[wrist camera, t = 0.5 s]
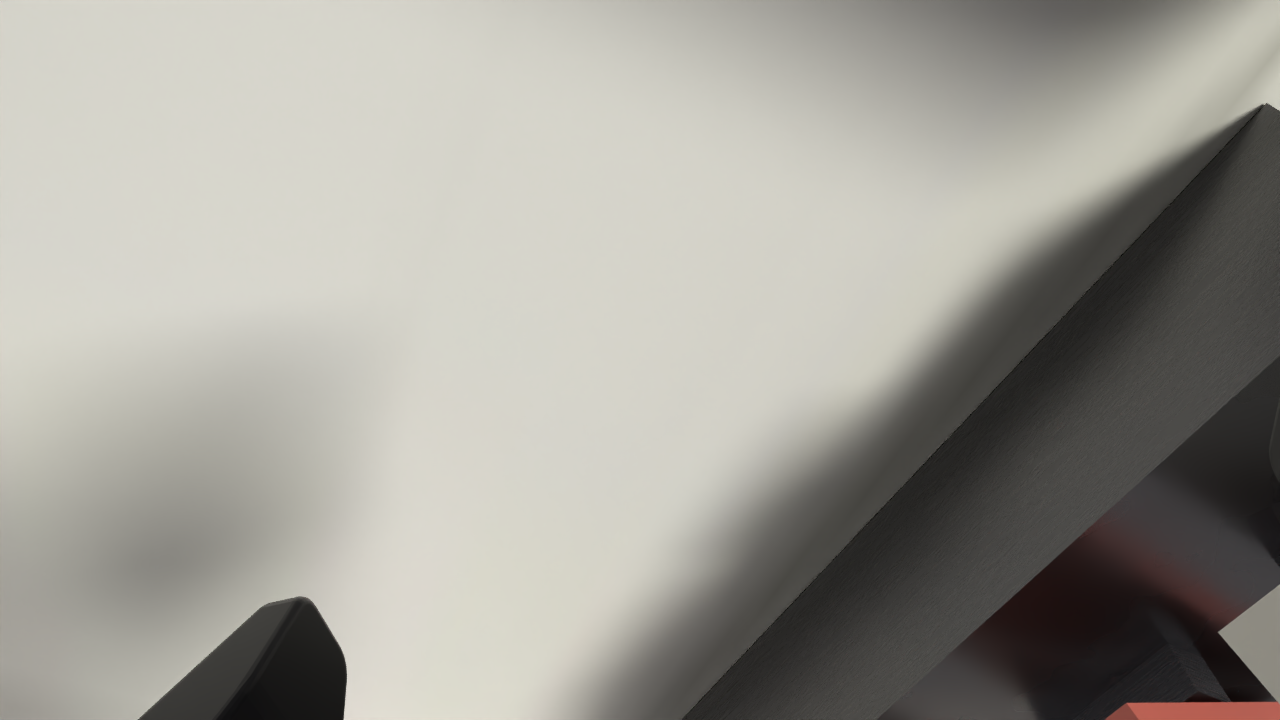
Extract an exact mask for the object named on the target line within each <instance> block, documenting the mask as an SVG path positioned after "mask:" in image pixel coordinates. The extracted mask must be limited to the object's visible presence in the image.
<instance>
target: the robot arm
mask: <svg viewBox="0 0 1280 720" xmlns="http://www.w3.org/2000/svg"><path fill="white" fill-rule="evenodd" d="M1269 460H1270V464H1271V467H1272V470H1273V472H1274V474H1275V477H1276V478H1277V480H1278V481H1279V483H1280V399H1279V403H1278V408H1277V413H1276V417H1275V422H1274V426H1273V431H1272V436H1271V440H1270V445H1269ZM346 684H347V669H346V662H345V658H344V655H343V652H342V650H341V648H340V646H339V644H338V642H337V641H336V639H335V637H334V636H333V634H332V632H331V631H330V629H329V627H328V626H327V624H326V622H325V621H324V619H323V617H322V616H321V614H320V612H319V611H318V609H317V608H316V606H315V605H314V603H313V602H312V601H311V600H310V599H308V598H306V597H295V598H290V599H286V600H281V601H276V602H272V603H268V604H266V605H264V606H263V607H261V608H260V609H259V610H257V611H256V612H255V613H254V614H253V615H252V616H251V617H250V618H249V619H248V620H247V621H245V622H244V623H243V624H242V625H241V626H240V627H239V628H238V629H237V630H236V631H234V632H233V633H232V634H231V635H230V636H229V637H228V638H227V639H226V640H225V641H224V642H222V643H221V644H220V645H219V646H218V647H217V648H216V649H215V650H214V651H213V652H211V653H210V654H209V655H208V656H207V657H206V658H205V659H204V660H203V661H202V662H201V663H199V664H198V665H197V666H196V667H195V668H194V669H193V670H192V671H191V672H190V673H188V674H187V675H186V676H185V677H184V678H183V679H182V680H181V681H180V682H179V683H178V684H176V685H175V686H174V687H173V688H172V689H171V690H170V691H169V692H168V693H167V694H165V695H164V696H163V697H162V698H161V699H160V700H159V701H158V702H157V703H156V704H155V705H153V706H152V707H151V708H150V709H149V710H148V711H147V712H146V713H145V714H144V715H143V716H141V717H140V718H139V719H138V720H344V708H345V696H346Z"/></svg>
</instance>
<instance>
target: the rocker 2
mask: <svg viewBox="0 0 1280 720" xmlns="http://www.w3.org/2000/svg"><path fill="white" fill-rule="evenodd" d="M1218 633H1219V634H1220V635H1221V636H1222V638H1223V639H1224V640H1225V641H1226V642H1227V643H1228V645H1229V646H1230V647H1231V648H1232V649H1233V650H1234V652H1235V653H1236V654H1237V655H1238V656H1239V657H1240V659H1241V660H1242V661H1243V662H1244V663H1245V664H1246V666H1247V667H1248V668H1249V669H1250V670H1251V671H1252V673H1253V674H1254V675H1255V676H1256V677H1257V678H1258V680H1259V681H1260V682H1261V683H1262V684H1263V685H1264V687H1265V688H1266V689H1267V690H1268V691H1269V693H1270V694H1271V695H1272V696H1273V697H1274V698H1275V700H1276V701H1277V702H1278V703H1279V704H1280V585H1278V586H1277V587H1276V588H1275V589H1273V590H1272V591H1271V592H1269V593H1268V594H1267V595H1265V596H1264V597H1263V598H1262V599H1260V600H1259V601H1258V602H1256V603H1255V604H1254V605H1252V606H1251V607H1250V608H1249V609H1247V610H1246V611H1245V612H1243V613H1242V614H1241V615H1240V616H1238V617H1237V618H1236V619H1234V620H1233V621H1232V622H1230V623H1229V624H1228V625H1227V626H1225V627H1224V628H1223V629H1221V630H1220V631H1219V632H1218Z"/></svg>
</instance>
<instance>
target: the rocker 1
mask: <svg viewBox="0 0 1280 720" xmlns="http://www.w3.org/2000/svg"><path fill="white" fill-rule="evenodd" d="M1105 720H1280V704H1279V703H1278V702H1181V703H1126V704H1124V705H1123V706H1122V707H1120V708H1119V709H1118V710H1116V711H1115V712H1114V713H1113V714H1111V715H1110V716H1109V717H1107V718H1106V719H1105Z"/></svg>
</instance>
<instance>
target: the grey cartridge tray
mask: <svg viewBox="0 0 1280 720" xmlns="http://www.w3.org/2000/svg"><path fill="white" fill-rule="evenodd" d="M1279 399H1280V111H1279V110H1277V109H1275V108H1274V107H1272V106H1271V105H1269V104H1267V103H1266V104H1265V105H1264V106H1263V107H1262V108H1261V109H1260V111H1259V112H1258V113H1257V114H1256V115H1255V116H1254V117H1253V118H1252V119H1251V120H1250V121H1249V122H1248V123H1247V124H1246V125H1245V126H1244V127H1243V128H1242V130H1241V131H1240V132H1239V133H1238V134H1237V135H1236V136H1235V137H1234V138H1233V139H1232V140H1231V141H1230V142H1229V143H1228V144H1227V145H1226V146H1225V147H1224V149H1223V150H1222V151H1221V152H1220V153H1219V154H1218V155H1217V156H1216V157H1215V158H1214V159H1213V160H1212V161H1211V162H1210V163H1209V164H1208V165H1207V166H1206V168H1205V169H1204V170H1203V171H1202V172H1201V173H1200V174H1199V175H1198V176H1197V177H1196V178H1195V179H1194V180H1193V181H1192V182H1191V183H1190V184H1189V185H1188V187H1187V188H1186V189H1185V190H1184V191H1183V192H1182V193H1181V194H1180V195H1179V196H1178V197H1177V198H1176V199H1175V200H1174V201H1173V202H1172V203H1171V204H1170V206H1169V207H1168V208H1167V209H1166V210H1165V211H1164V212H1163V213H1162V214H1161V215H1160V216H1159V217H1158V218H1157V219H1156V220H1155V221H1154V222H1153V223H1152V225H1151V226H1150V227H1149V228H1148V229H1147V230H1146V231H1145V232H1144V233H1143V234H1142V235H1141V236H1140V237H1139V238H1138V239H1137V240H1136V241H1135V242H1134V244H1133V245H1132V246H1131V247H1130V248H1129V249H1128V250H1127V251H1126V252H1125V253H1124V254H1123V255H1122V256H1121V257H1120V258H1119V259H1118V260H1117V261H1116V262H1115V264H1114V265H1113V266H1112V267H1111V268H1110V269H1109V270H1108V271H1107V272H1106V273H1105V274H1104V275H1103V276H1102V277H1101V278H1100V279H1099V280H1098V281H1097V283H1096V284H1095V285H1094V286H1093V287H1092V288H1091V289H1090V290H1089V291H1088V292H1087V293H1086V294H1085V295H1084V296H1083V297H1082V298H1081V299H1080V300H1079V302H1078V303H1077V304H1076V305H1075V306H1074V307H1073V308H1072V309H1071V310H1070V311H1069V312H1068V313H1067V314H1066V315H1065V316H1064V317H1063V318H1062V319H1061V321H1060V322H1059V323H1058V324H1057V325H1056V326H1055V327H1054V328H1053V329H1052V330H1051V331H1050V332H1049V333H1048V334H1047V335H1046V336H1045V337H1044V338H1043V340H1042V341H1041V342H1040V343H1039V344H1038V345H1037V346H1036V347H1035V348H1034V349H1033V350H1032V351H1031V352H1030V353H1029V354H1028V355H1027V356H1026V357H1025V359H1024V360H1023V361H1022V362H1021V363H1020V364H1019V365H1018V366H1017V367H1016V368H1015V369H1014V370H1013V371H1012V372H1011V373H1010V374H1009V375H1008V376H1007V378H1006V379H1005V380H1004V381H1003V382H1002V383H1001V384H1000V385H999V386H998V387H997V388H996V389H995V390H994V391H993V392H992V393H991V394H990V395H989V397H988V398H987V399H986V400H985V401H984V402H983V403H982V404H981V405H980V406H979V407H978V408H977V409H976V410H975V411H974V412H973V413H972V414H971V416H970V417H969V418H968V419H967V420H966V421H965V422H964V423H963V424H962V425H961V426H960V427H959V428H958V429H957V430H956V431H955V432H954V433H953V435H952V436H951V437H950V438H949V439H948V440H947V441H946V442H945V443H944V444H943V445H942V446H941V447H940V448H939V449H938V450H937V451H936V452H935V454H934V455H933V456H932V457H931V458H930V459H929V460H928V461H927V462H926V463H925V464H924V465H923V466H922V467H921V468H920V469H919V470H918V471H917V472H916V474H915V475H914V476H913V477H912V478H911V479H910V480H909V481H908V482H907V483H906V484H905V485H904V486H903V487H902V488H901V489H900V490H899V491H898V493H897V494H896V495H895V496H894V497H893V498H892V499H891V500H890V501H889V502H888V503H887V504H886V505H885V506H884V507H883V508H882V509H881V510H880V512H879V513H878V514H877V515H876V516H875V517H874V518H873V519H872V520H871V521H870V522H869V523H868V524H867V525H866V526H865V527H864V528H863V529H862V531H861V532H860V533H859V534H858V535H857V536H856V537H855V538H854V539H853V540H852V541H851V542H850V543H849V544H848V545H847V546H846V547H845V548H844V550H843V551H842V552H841V553H840V554H839V555H838V556H837V557H836V558H835V559H834V560H833V561H832V562H831V563H830V564H829V565H828V566H827V567H826V569H825V570H824V571H823V572H822V573H821V574H820V575H819V576H818V577H817V578H816V579H815V580H814V581H813V582H812V583H811V584H810V585H809V586H808V588H807V589H806V590H805V591H804V592H803V593H802V594H801V595H800V596H799V597H798V598H797V599H796V600H795V601H794V602H793V603H792V604H791V605H790V607H789V608H788V609H787V610H786V611H785V612H784V613H783V614H782V615H781V616H780V617H779V618H778V619H777V620H776V621H775V622H774V623H773V624H772V626H771V627H770V628H769V629H768V630H767V631H766V632H765V633H764V634H763V635H762V636H761V637H760V638H759V639H758V640H757V641H756V642H755V643H754V645H753V646H752V647H751V648H750V649H749V650H748V651H747V652H746V653H745V654H744V655H743V656H742V657H741V658H740V659H739V660H738V661H737V662H736V664H735V665H734V666H733V667H732V668H731V669H730V670H729V671H728V672H727V673H726V674H725V675H724V676H723V677H722V678H721V679H720V680H719V681H718V682H717V684H716V685H715V686H714V687H713V688H712V689H711V690H710V691H709V692H708V693H707V694H706V695H705V696H704V697H703V698H702V699H701V700H700V701H699V703H698V704H697V705H696V706H695V707H694V708H693V709H692V710H691V711H690V712H689V713H688V714H687V715H686V716H685V717H684V718H683V719H682V720H1105V719H1106V718H1107V717H1109V716H1110V715H1111V714H1113V713H1114V712H1115V711H1116V710H1118V709H1119V708H1120V707H1122V706H1123V705H1124V704H1126V703H1181V702H1277V701H1276V700H1275V698H1274V697H1273V696H1272V695H1271V694H1270V693H1269V691H1268V690H1267V689H1266V688H1265V687H1264V685H1263V684H1262V683H1261V682H1260V681H1259V680H1258V678H1257V677H1256V676H1255V675H1254V674H1253V673H1252V671H1251V670H1250V669H1249V668H1248V667H1247V666H1246V664H1245V663H1244V662H1243V661H1242V660H1241V659H1240V657H1239V656H1238V655H1237V654H1236V653H1235V652H1234V650H1233V649H1232V648H1231V647H1230V646H1229V645H1228V643H1227V642H1226V641H1225V640H1224V639H1223V638H1222V636H1221V635H1220V634H1219V633H1218V632H1219V631H1220V630H1221V629H1223V628H1224V627H1225V626H1227V625H1228V624H1229V623H1230V622H1232V621H1233V620H1234V619H1236V618H1237V617H1238V616H1240V615H1241V614H1242V613H1243V612H1245V611H1246V610H1247V609H1249V608H1250V607H1251V606H1252V605H1254V604H1255V603H1256V602H1258V601H1259V600H1260V599H1262V598H1263V597H1264V596H1265V595H1267V594H1268V593H1269V592H1271V591H1272V590H1273V589H1275V588H1276V587H1277V586H1278V585H1280V483H1279V481H1278V480H1277V478H1276V477H1275V474H1274V472H1273V470H1272V467H1271V464H1270V460H1269V445H1270V440H1271V436H1272V431H1273V426H1274V422H1275V417H1276V413H1277V408H1278V403H1279Z"/></svg>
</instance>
